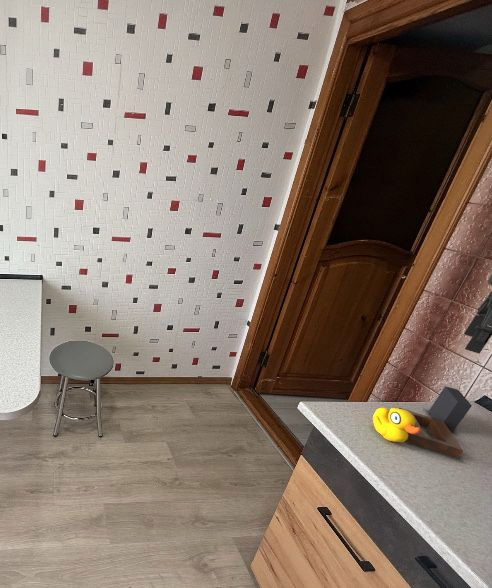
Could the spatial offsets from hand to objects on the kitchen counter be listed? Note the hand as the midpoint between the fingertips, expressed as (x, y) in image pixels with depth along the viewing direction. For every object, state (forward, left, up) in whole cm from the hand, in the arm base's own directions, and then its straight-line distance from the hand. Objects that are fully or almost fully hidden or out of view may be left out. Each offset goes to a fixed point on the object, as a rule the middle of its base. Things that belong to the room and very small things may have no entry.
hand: (471, 343), depth 95 cm
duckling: (+9, +27, -25) cm, 37 cm away
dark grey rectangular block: (-2, +5, -24) cm, 25 cm away
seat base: (+2, +17, -24) cm, 30 cm away
